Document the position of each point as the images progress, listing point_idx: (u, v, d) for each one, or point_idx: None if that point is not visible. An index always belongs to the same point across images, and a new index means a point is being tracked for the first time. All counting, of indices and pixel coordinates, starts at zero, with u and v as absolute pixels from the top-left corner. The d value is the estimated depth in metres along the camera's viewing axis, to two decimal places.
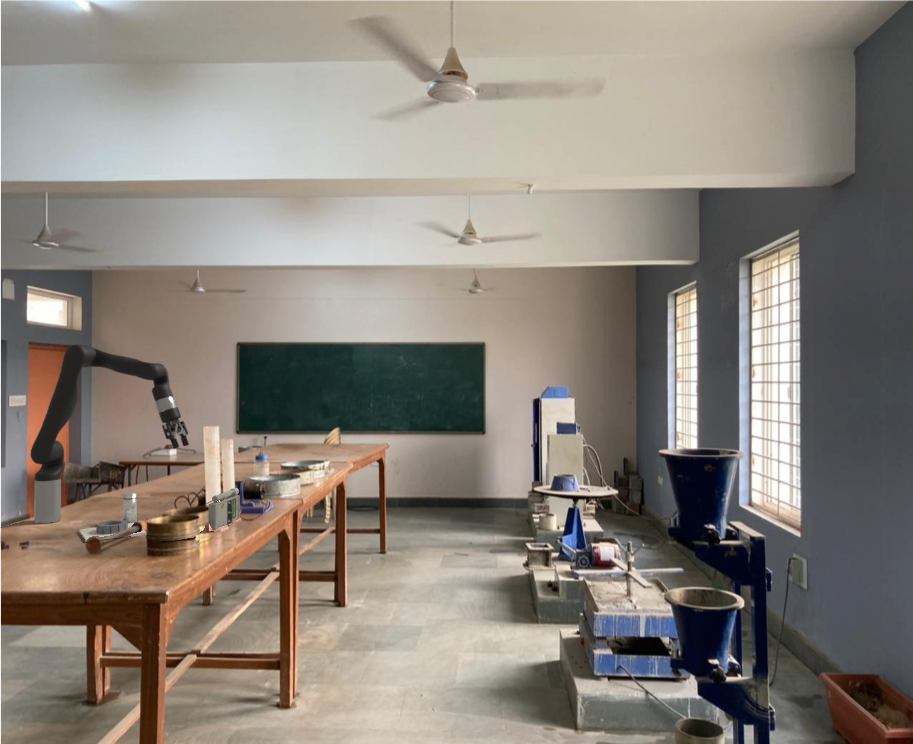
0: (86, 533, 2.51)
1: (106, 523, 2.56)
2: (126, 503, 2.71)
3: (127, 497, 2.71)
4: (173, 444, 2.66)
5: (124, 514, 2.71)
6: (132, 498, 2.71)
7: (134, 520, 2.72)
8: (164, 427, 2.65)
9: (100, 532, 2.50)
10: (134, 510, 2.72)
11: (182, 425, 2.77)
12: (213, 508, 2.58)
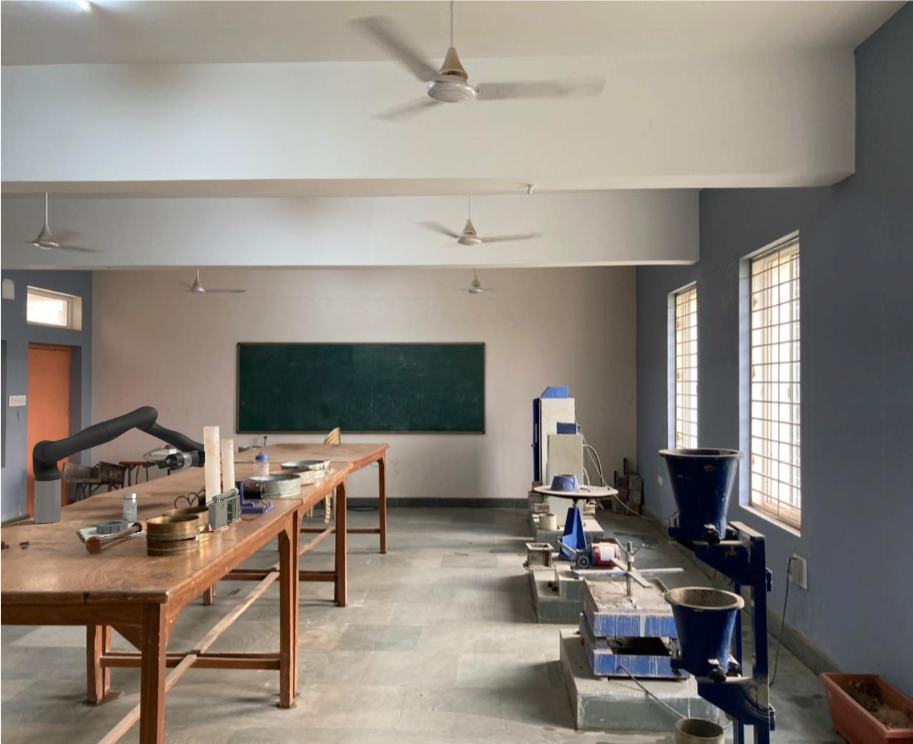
0: (86, 533, 2.51)
1: (106, 523, 2.56)
2: (126, 503, 2.71)
3: (127, 497, 2.71)
4: (164, 465, 2.84)
5: (124, 514, 2.71)
6: (132, 498, 2.71)
7: (134, 520, 2.72)
8: (179, 463, 2.91)
9: (100, 532, 2.50)
10: (134, 510, 2.72)
11: None
12: (213, 508, 2.58)
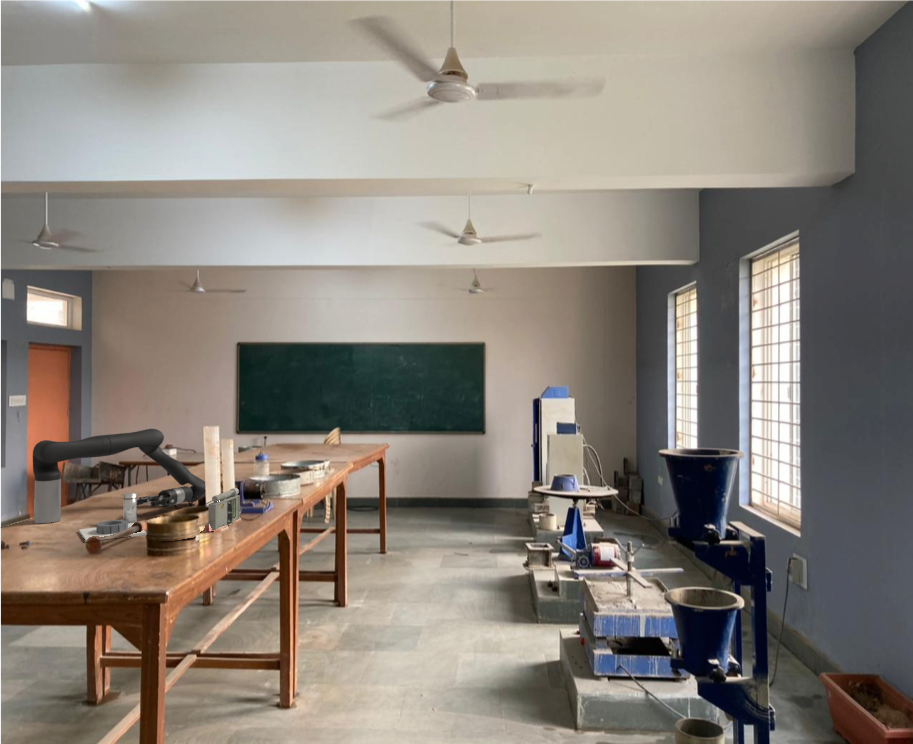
0: (86, 533, 2.51)
1: (106, 523, 2.56)
2: (126, 503, 2.71)
3: (127, 497, 2.71)
4: (156, 503, 2.80)
5: (124, 514, 2.71)
6: (132, 498, 2.71)
7: (134, 520, 2.72)
8: (172, 499, 2.86)
9: (100, 532, 2.50)
10: (134, 510, 2.72)
11: (148, 501, 2.90)
12: (213, 508, 2.58)
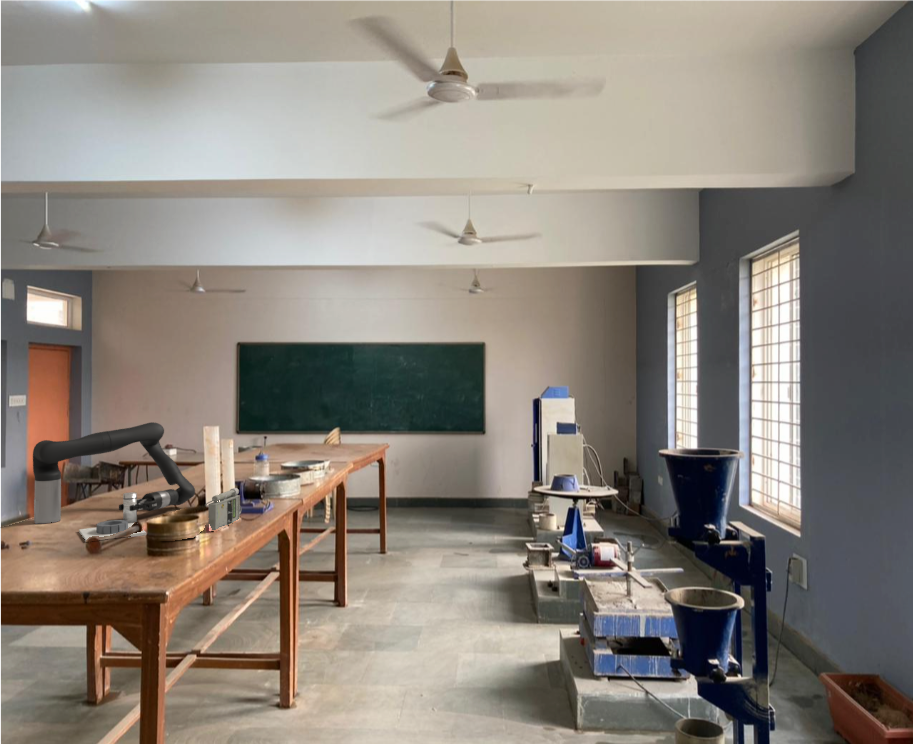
0: (86, 533, 2.51)
1: (106, 523, 2.56)
2: (126, 503, 2.71)
3: (127, 497, 2.71)
4: (135, 507, 2.71)
5: (124, 514, 2.71)
6: (132, 498, 2.71)
7: (134, 520, 2.72)
8: (154, 504, 2.77)
9: (100, 532, 2.50)
10: (134, 510, 2.72)
11: None
12: (213, 508, 2.58)
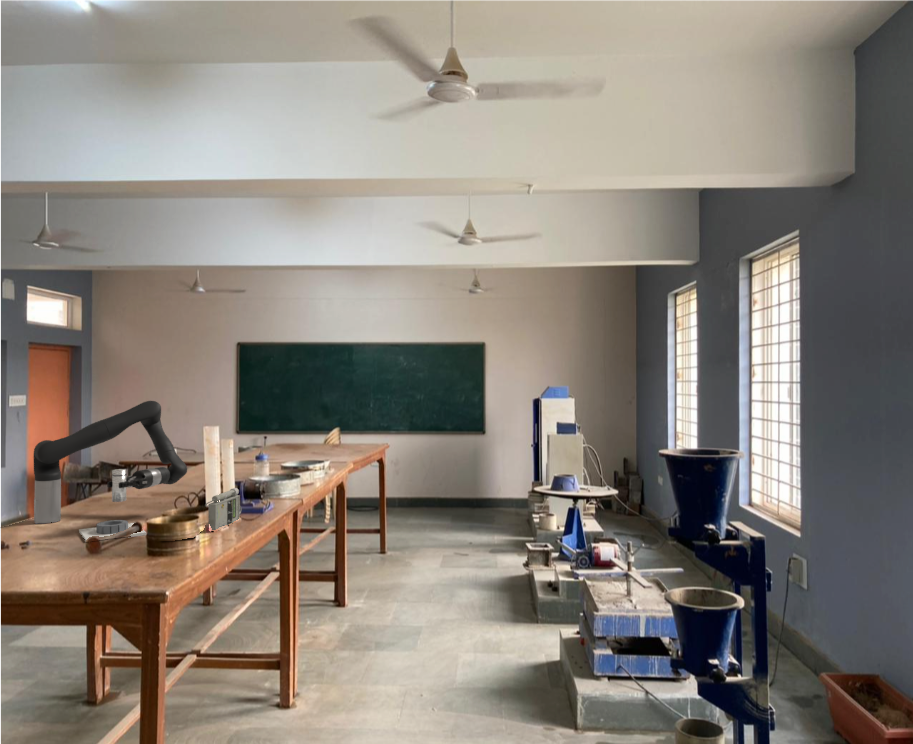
0: (86, 533, 2.51)
1: (106, 523, 2.56)
2: (115, 480, 2.58)
3: (116, 473, 2.58)
4: (124, 484, 2.59)
5: (113, 491, 2.59)
6: (121, 475, 2.59)
7: (123, 498, 2.60)
8: (144, 481, 2.65)
9: (100, 532, 2.50)
10: None
11: None
12: (213, 508, 2.58)
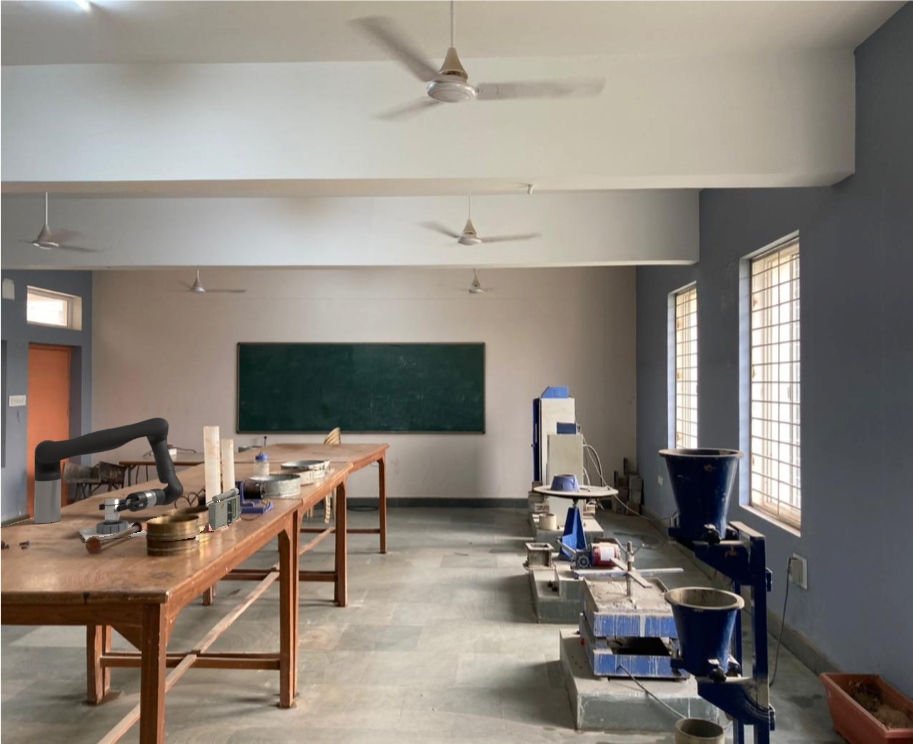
0: (86, 533, 2.51)
1: None
2: (107, 510, 2.52)
3: (109, 503, 2.52)
4: (122, 507, 2.53)
5: (106, 522, 2.53)
6: (114, 504, 2.53)
7: None
8: (141, 503, 2.60)
9: (100, 532, 2.50)
10: (116, 517, 2.54)
11: None
12: (213, 508, 2.58)
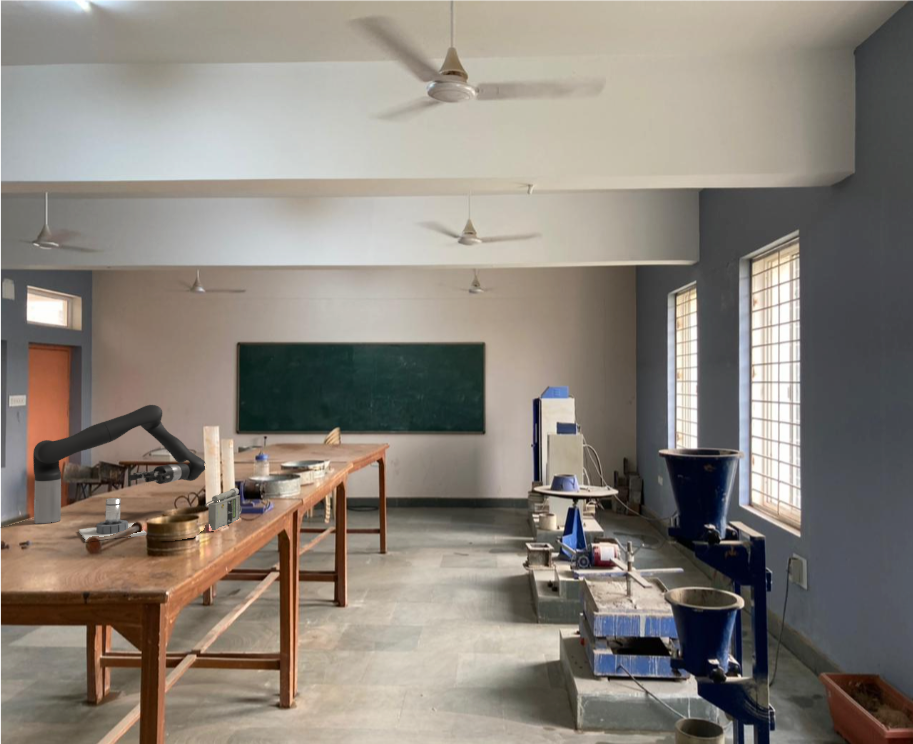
0: (86, 533, 2.51)
1: None
2: (109, 509, 2.53)
3: (110, 503, 2.53)
4: (151, 478, 2.68)
5: (106, 521, 2.53)
6: (115, 504, 2.54)
7: None
8: (168, 475, 2.74)
9: (100, 532, 2.50)
10: (117, 517, 2.54)
11: None
12: (213, 508, 2.58)
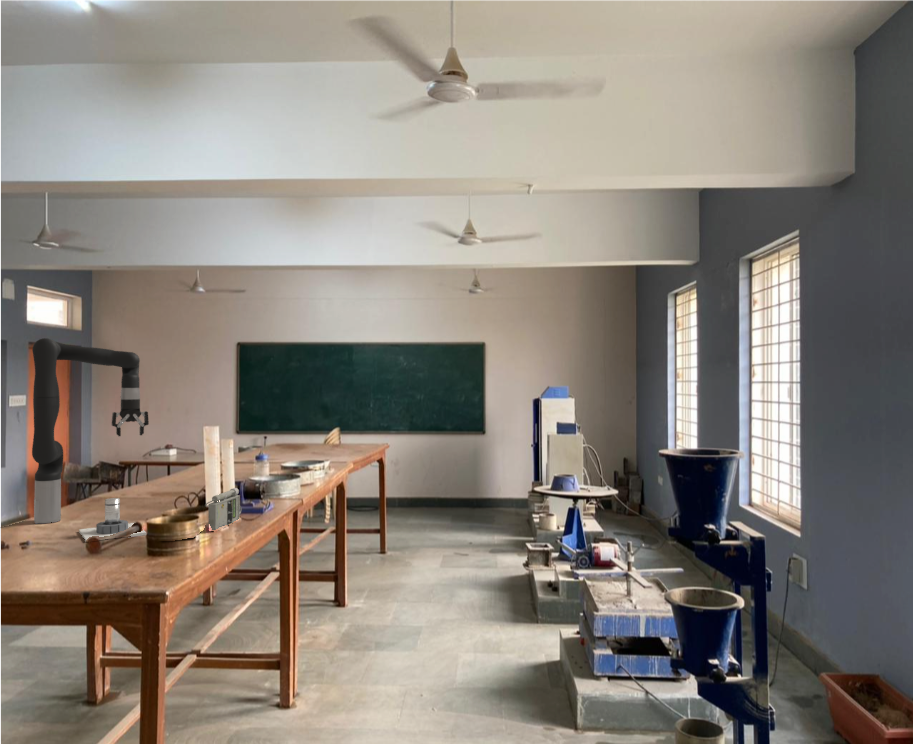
0: (86, 533, 2.51)
1: None
2: (108, 509, 2.53)
3: (110, 503, 2.53)
4: None
5: (106, 521, 2.53)
6: (115, 504, 2.54)
7: None
8: (147, 414, 2.92)
9: (100, 532, 2.50)
10: (117, 517, 2.54)
11: None
12: (213, 508, 2.58)
